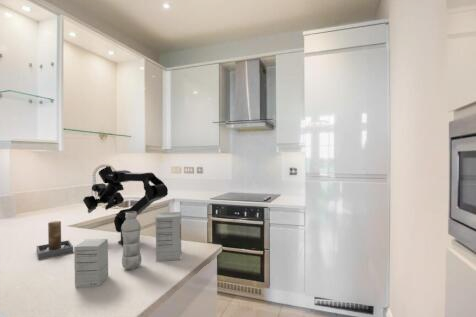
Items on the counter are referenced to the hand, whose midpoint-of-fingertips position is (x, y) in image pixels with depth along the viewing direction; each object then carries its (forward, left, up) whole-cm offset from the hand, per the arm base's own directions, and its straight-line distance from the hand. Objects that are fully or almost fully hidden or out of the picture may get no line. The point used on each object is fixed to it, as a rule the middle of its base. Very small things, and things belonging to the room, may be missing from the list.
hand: (97, 210), depth 131 cm
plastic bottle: (-51, 0, -13) cm, 53 cm away
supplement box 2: (-50, -15, -13) cm, 54 cm away
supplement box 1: (-53, +13, -13) cm, 56 cm away
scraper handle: (-12, +19, -12) cm, 26 cm away
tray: (-12, +19, -13) cm, 26 cm away
